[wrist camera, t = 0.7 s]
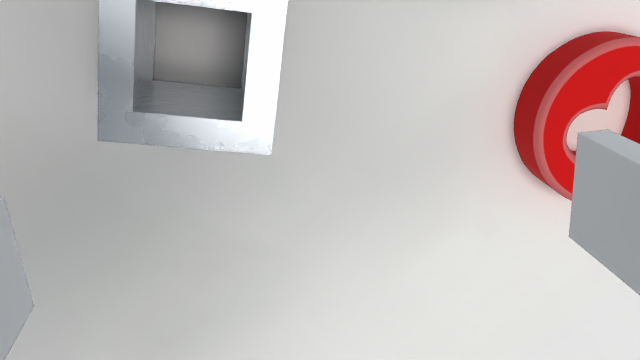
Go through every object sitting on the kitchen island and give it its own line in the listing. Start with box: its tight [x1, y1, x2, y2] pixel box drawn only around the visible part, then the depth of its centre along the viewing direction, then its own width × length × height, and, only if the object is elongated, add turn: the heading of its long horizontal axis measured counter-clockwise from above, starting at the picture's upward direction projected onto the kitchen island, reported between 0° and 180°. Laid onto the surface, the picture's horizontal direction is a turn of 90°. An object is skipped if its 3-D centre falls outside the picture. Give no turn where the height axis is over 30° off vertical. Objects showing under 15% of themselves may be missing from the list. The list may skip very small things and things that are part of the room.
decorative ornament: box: [514, 32, 640, 201], centre depth 35 cm, size 10×10×3 cm
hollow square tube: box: [98, 0, 288, 155], centre depth 29 cm, size 7×7×7 cm
